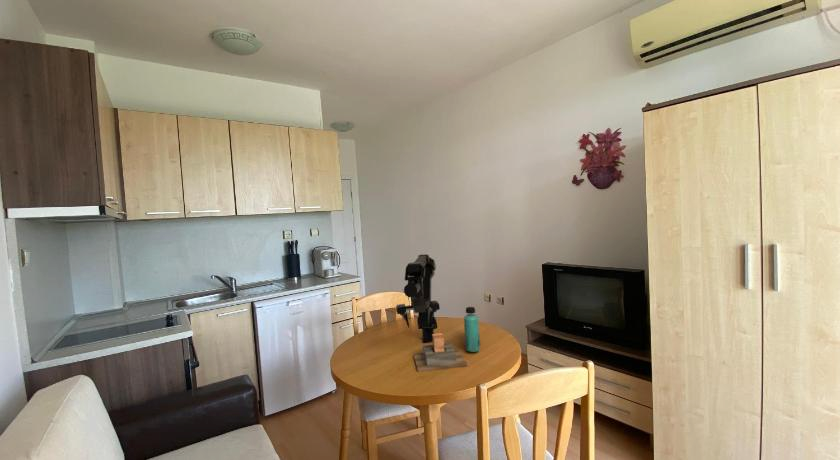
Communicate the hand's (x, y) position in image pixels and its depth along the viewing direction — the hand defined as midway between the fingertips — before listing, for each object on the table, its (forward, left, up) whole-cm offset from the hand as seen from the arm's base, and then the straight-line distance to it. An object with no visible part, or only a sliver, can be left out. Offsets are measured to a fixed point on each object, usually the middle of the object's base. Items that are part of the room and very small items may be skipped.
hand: (418, 326), depth 155 cm
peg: (+9, +7, -12) cm, 16 cm away
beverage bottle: (+4, +23, -13) cm, 27 cm away
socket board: (+9, +7, -13) cm, 17 cm away
